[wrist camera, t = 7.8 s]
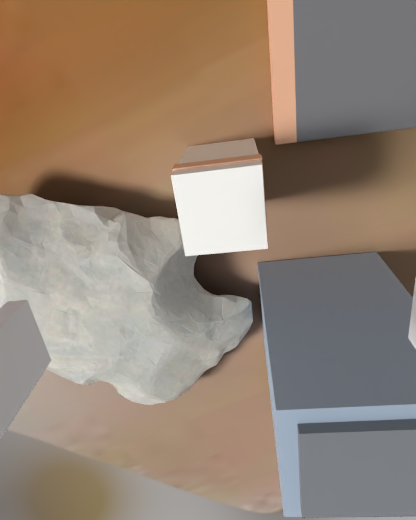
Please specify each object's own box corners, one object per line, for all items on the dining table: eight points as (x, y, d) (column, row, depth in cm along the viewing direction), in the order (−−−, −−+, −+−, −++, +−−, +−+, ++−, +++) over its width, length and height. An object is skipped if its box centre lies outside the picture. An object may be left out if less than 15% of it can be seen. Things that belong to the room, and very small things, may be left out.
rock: (153, 446, 37) (-120, 319, 27) (157, 387, 43) (-64, 267, 33) (301, 329, 30) (12, 109, 21) (281, 281, 36) (51, 94, 27)
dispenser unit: (257, 262, 33) (277, 420, 18) (376, 251, 32) (502, 411, 17) (264, 349, 37) (285, 534, 22) (369, 342, 36) (465, 533, 21)
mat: (263, -60, 23) (265, -65, 22) (474, -99, 21) (484, -107, 21) (274, 142, 28) (275, 144, 27) (443, 121, 27) (451, 122, 26)
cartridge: (186, 145, 29) (168, 174, 21) (255, 136, 28) (263, 162, 20) (196, 209, 31) (184, 257, 23) (260, 202, 30) (269, 249, 22)
